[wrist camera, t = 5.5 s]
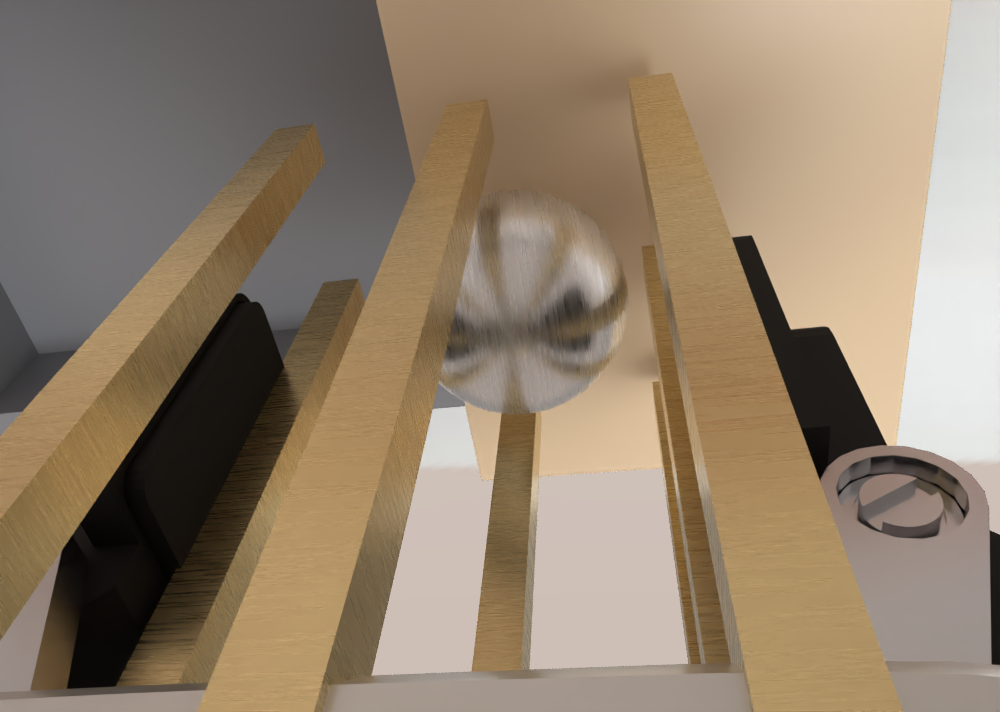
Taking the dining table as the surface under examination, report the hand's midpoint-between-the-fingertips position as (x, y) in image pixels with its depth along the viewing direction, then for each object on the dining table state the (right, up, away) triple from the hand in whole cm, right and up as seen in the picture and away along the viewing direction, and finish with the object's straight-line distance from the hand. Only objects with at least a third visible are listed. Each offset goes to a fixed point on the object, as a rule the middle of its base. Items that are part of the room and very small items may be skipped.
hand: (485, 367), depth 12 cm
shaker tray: (-3, +6, +10) cm, 12 cm away
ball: (0, +1, +1) cm, 2 cm away
